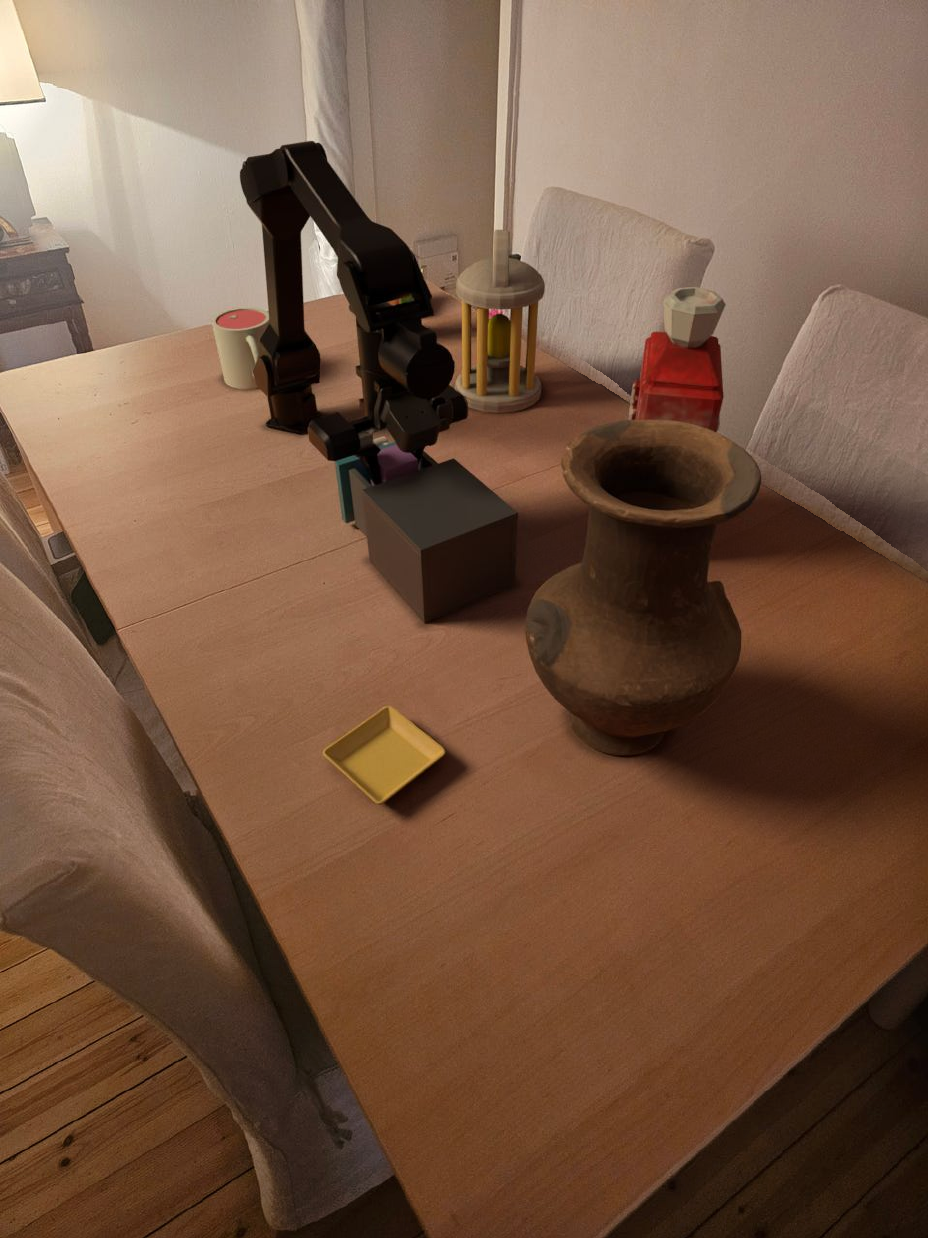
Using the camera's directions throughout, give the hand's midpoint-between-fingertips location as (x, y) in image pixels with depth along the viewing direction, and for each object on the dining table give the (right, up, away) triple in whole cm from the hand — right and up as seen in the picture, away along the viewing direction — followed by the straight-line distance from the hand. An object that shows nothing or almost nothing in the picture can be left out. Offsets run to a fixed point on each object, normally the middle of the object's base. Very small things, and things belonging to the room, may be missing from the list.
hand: (394, 480), depth 102 cm
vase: (+24, -28, -19) cm, 41 cm away
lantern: (+14, +20, +33) cm, 41 cm away
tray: (0, -4, +5) cm, 7 cm away
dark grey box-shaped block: (+6, -12, -2) cm, 13 cm away
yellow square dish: (+1, -31, -23) cm, 39 cm away
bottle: (+33, -5, +5) cm, 34 cm away
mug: (-26, +22, +36) cm, 50 cm away
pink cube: (0, -1, +1) cm, 1 cm away
